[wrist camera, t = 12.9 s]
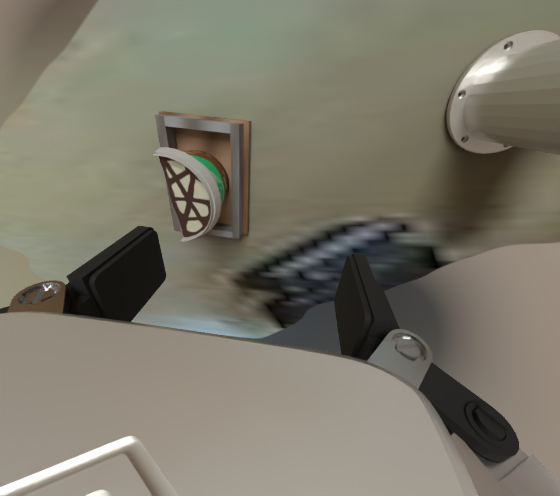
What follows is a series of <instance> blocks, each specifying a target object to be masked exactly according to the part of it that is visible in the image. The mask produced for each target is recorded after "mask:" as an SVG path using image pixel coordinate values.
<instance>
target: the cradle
mask: <svg viewBox="0 0 560 496" xmlns="http://www.w3.org/2000/svg"><path fill="white" fill-rule="evenodd" d="M155 118H156V124H157V130H158V136H159V142H160V147H168V148H173V149H177V150H180V151H189V150H198V151H203V152H206V153H208V154H210V155H212V156H213V157H215V158H216V159H217V160H218V161H219V162H220V163H221V164H222V165H223V167H224V168H225V170H226V172H227V174H228V178H229V192H228V194H227V196H226V198H225V200H224V202H223V203H222V205H221V212H220V216H219V218H218V221H217V223H216V224H215V226H214V227H213V228H212V229H211V230H210V231H208V232H207V233H205V235H212V236H220V237H228V238H235V239H240V237H241V235H242V234H248V231H249V187H250V141H251V121H245V120H236V119H227V118H218V117H209V116H199V115H190V114H181V113H172V112H159V115H155ZM166 183H167V181H166ZM167 189H168V185H167ZM168 195H169V201H170V207H171V213H172V219H173V225H174V230H175V231H181V232H182V229H181V225H180V222H179V219H178V216H177V214H176V212H175V209H174V207H173V204H172V202H171V198H170V194H169V189H168Z"/></svg>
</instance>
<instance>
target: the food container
mask: <svg viewBox="0 0 560 496" xmlns="http://www.w3.org/2000/svg"><path fill="white" fill-rule="evenodd" d="M155 153H156V154H154V155H153V156H159V158H160V163H161V165H162V167H163V170H164V174H165V177H166V181H167V185H168V189H169V194H170V198H171V202H172V204H173V207H174V209H175V212H176V214H177V216H178V219H179V222H180V225H181V229H182V232H183V235H184V237H183V238H182V240H181V241H188V240H193V239H196V238H198V237H200V236H202V235H204V234H205V233H207V232H208V231H210V230H211V229H212V228H213V227H214V226H215V224H216V223H217V221H218V218H219V216H220V212H221V205H222V203H223V202H224V200H225V198H226V196H227V194H228V192H229V178H228V174H227V172H226V170H225V168H224V167H223V165H222V164H221V163H220V162H219V161H218V160H217V159H216V158H215V157H213V156H212V155H210V154H208V153H206V152H203V151H198V150H189V151H180V150H177V149H173V148H168V147H160V148H159V149H158V150H156V151H155Z"/></svg>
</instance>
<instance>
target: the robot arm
mask: <svg viewBox="0 0 560 496" xmlns="http://www.w3.org/2000/svg"><path fill="white" fill-rule="evenodd" d="M504 46H505V48H504ZM458 93H460V95H459V96H458ZM446 120H447V128H448V131H449V134H450V136H451V138H452V139H453V141H454V142H455V143H456V144H457V145H458V146H459V147H461V148H463V149H465V150H467V151H470V152H474V153H481V154H488V153H496V152H500V151H504V150H506V149H509V148H511V147H519V148H525V149H530V150H535V151H541V152H546V153H552V154H557V155H560V37H559V36H558V35H556V34H554V33H552V32H548V31H544V30H534V31H527V32H523V33H519V34H516V35H513V36H510V37H507V38H505V39H503V40H501V41H499V42H498V43H496V44H494V45H492V46H491V47H490V48H488V49H487V50H486V51H484V52H483V53H481V54H480V55H479V56H478V57H477V58H476V59H475V60H474V61H473V62H472V63H471V64H470V65H469V67H468V68H467V69H466V70H465V72H464V73H463V74H462V76H461V77H460V79H459V80H458V82H457V84H456V85H455V87H454V90H453V92H452V94H451V96H450V100H449V103H448V107H447V116H446ZM462 137H463V139H462ZM461 139H462V140H461ZM67 278H68V280H69V283H68V284H66V285H65V284H64V283H63V282H61V281H57V280H56V281H44V282H40V283H37V284H34V285H31V286H29V287H27V288H25V289H23V290H21V291H20V292H18V293H17V294H16V295H15V296H14V297H13V299H12V301H11V304H10V306H8V307H5V308H2V309H0V496H560V481H559V480H557V478H555V476H554V475H553V474H551V472H550V471H549V470H548V469H546V467H545V466H544V465H542V464H541V463H540V462H539V461H538V460H537V459H536V458H535V457H534V456H533V455H531V456H529V457H528V456H527V455H526V454H525V453H524V452H523V451H522V450H521V449H520V448H519V441H518V438H517V436H516V433H515V432H514V430H513V428H512V427H511V425H510V424H509V423H508V422H507V420H506V419H505V418H504V417H503V416H502V415H501V414H500V413H499V412H498V411H496V410H495V409H494V408H493V407H491V406H490V405H489V404H487V403H486V402H485V401H483V400H482V399H480V398H479V397H478V396H477V395H475V394H474V393H472V392H471V391H470V390H468V389H467V388H466V387H464V386H463V385H461V384H460V383H459V382H457V381H456V380H455V379H453V378H452V377H450V376H449V375H448V374H447V373H445V372H444V371H442V370H441V369H440V368H439V367H437V366H436V365H434V364H433V363H432V358H433V356H432V352H431V350H430V348H429V346H428V345H427V344H426V343H425V342H424V340H423V339H421V338H420V337H419V336H417V335H416V334H414V333H412V332H410V331H407V330H403V329H399V326H398V324H397V322H396V319H395V317H394V314H393V312H392V310H391V307H390V305H389V302H388V300H387V298H386V295H385V293H384V290H383V288H382V286H381V285H379V284H376V281H375V279H374V276H373V274H372V271H371V268H370V266H369V263H368V261H367V258H366V256H365V255H359V254H352V255H351V256H348V257H347V259H346V262H345V266H344V269H343V272H342V276H341V279H340V283H339V286H338V289H337V293H336V296H335V311H336V318H337V326H338V333H339V340H340V347H341V354H342V355H341V354H336V353H331V352H326V351H320V350H314V349H308V348H302V347H296V346H290V345H283V344H277V343H270V342H264V341H257V340H251V339H244V338H237V337H231V336H224V335H217V334H210V333H204V332H197V331H190V330H183V329H176V328H169V327H162V326H155V325H148V324H141V323H134V322H131V321H132V320H133V318H134V317H135V316H136V315H137V314H138V312H139V311H140V310H141V309H142V307H143V306H144V305H145V304H146V303H147V301H148V300H149V299H150V298H151V297H152V295H153V294H154V293H155V292H156V290H157V289H158V288H159V287H160V286H161V284H162V283H163V282H164V281H165V278H166V272H165V267H164V263H163V258H162V253H161V249H160V244H159V239H158V235H157V232H156V231H154V229H153V228H151V227H144V226H138V227H136V228H135V229H133V230H132V231H131V232H129V233H128V234H126V235H125V236H123V237H122V238H121V239H119V240H118V241H116V242H115V243H113V244H112V245H111V246H109V247H108V248H106V249H105V250H103V251H102V252H101V253H99V254H98V255H96V256H95V257H93V258H92V259H91V260H89V261H88V262H86V263H85V264H83V265H82V266H81V267H79V268H78V269H76V270H75V271H74V272H72V273H71V274H69V275H68V276H67Z"/></svg>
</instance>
